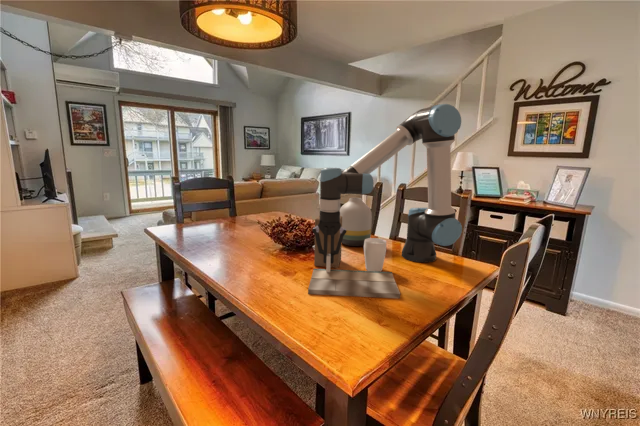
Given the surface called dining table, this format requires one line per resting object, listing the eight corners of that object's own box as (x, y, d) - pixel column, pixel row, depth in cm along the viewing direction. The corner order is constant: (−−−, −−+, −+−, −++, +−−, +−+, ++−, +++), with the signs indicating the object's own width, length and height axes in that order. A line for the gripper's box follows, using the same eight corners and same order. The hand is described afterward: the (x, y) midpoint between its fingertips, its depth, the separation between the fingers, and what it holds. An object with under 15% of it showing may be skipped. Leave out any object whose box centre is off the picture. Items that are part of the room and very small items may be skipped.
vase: (331, 243, 160) (332, 198, 155) (350, 237, 172) (351, 195, 168) (358, 250, 149) (360, 201, 144) (376, 243, 161) (378, 198, 157)
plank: (391, 276, 117) (391, 271, 117) (395, 286, 109) (395, 281, 108) (313, 272, 120) (313, 268, 119) (311, 282, 111) (311, 277, 111)
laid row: (395, 286, 108) (395, 282, 108) (399, 298, 99) (400, 293, 99) (311, 282, 110) (311, 278, 110) (308, 293, 101) (308, 289, 101)
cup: (386, 267, 127) (388, 239, 125) (383, 274, 119) (385, 245, 117) (365, 264, 130) (366, 236, 128) (360, 271, 122) (361, 242, 120)
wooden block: (337, 268, 125) (339, 220, 122) (314, 266, 127) (314, 219, 123) (341, 260, 135) (342, 215, 131) (319, 258, 137) (319, 214, 133)
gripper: (347, 209, 115) (345, 268, 120) (313, 207, 116) (312, 266, 121) (347, 212, 108) (345, 275, 112) (311, 211, 109) (310, 274, 113)
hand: (328, 271), depth 117 cm, fingers closed
